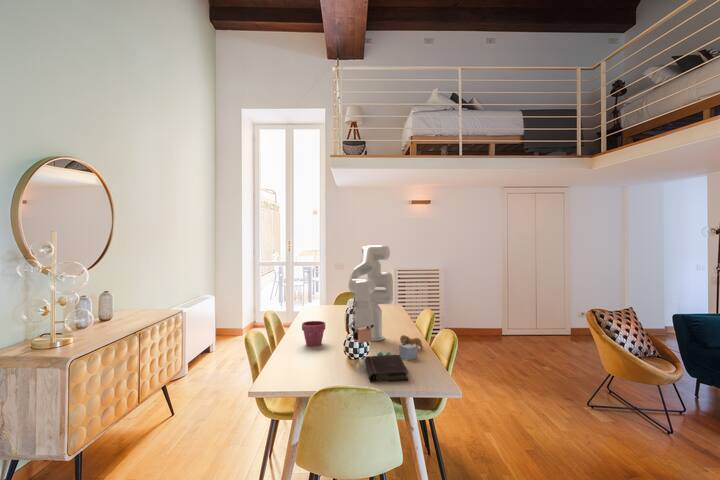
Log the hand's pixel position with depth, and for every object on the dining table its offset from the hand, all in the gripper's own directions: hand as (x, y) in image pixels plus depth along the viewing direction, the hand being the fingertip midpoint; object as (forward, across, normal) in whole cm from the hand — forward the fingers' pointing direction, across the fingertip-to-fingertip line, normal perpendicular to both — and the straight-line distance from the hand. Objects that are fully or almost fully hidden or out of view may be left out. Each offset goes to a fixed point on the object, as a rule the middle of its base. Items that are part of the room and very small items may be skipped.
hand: (362, 338), depth 202 cm
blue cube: (+12, +24, -8) cm, 28 cm away
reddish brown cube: (+1, 0, 0) cm, 1 cm away
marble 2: (+9, +16, -1) cm, 19 cm away
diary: (+13, +1, -20) cm, 24 cm away
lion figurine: (+12, +34, +2) cm, 36 cm away
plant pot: (+12, -8, +43) cm, 45 cm away
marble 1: (+9, +12, 0) cm, 15 cm away
